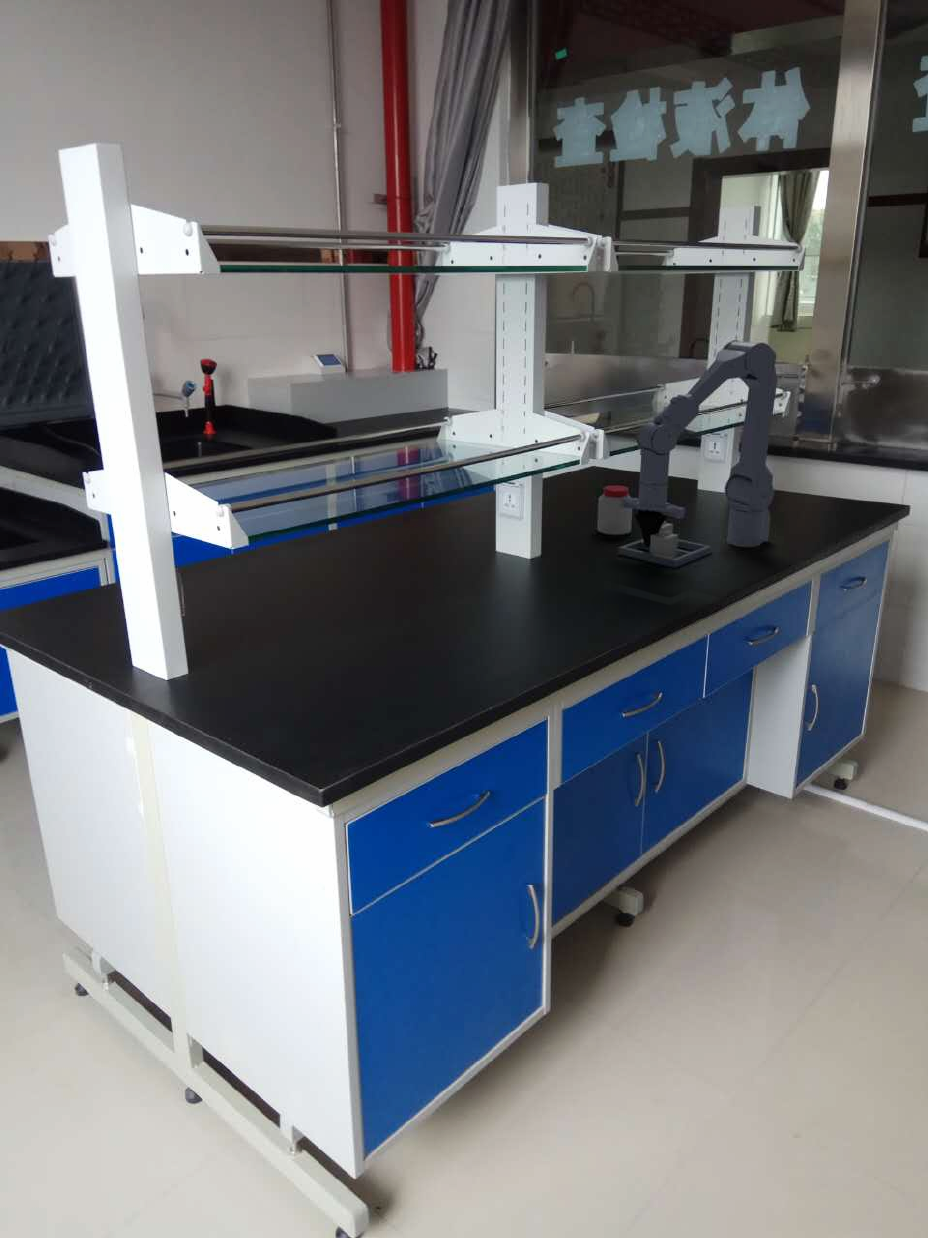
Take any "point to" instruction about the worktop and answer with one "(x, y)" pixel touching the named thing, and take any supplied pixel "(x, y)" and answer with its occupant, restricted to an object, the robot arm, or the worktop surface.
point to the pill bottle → (614, 511)
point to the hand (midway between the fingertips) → (649, 545)
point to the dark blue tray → (681, 559)
